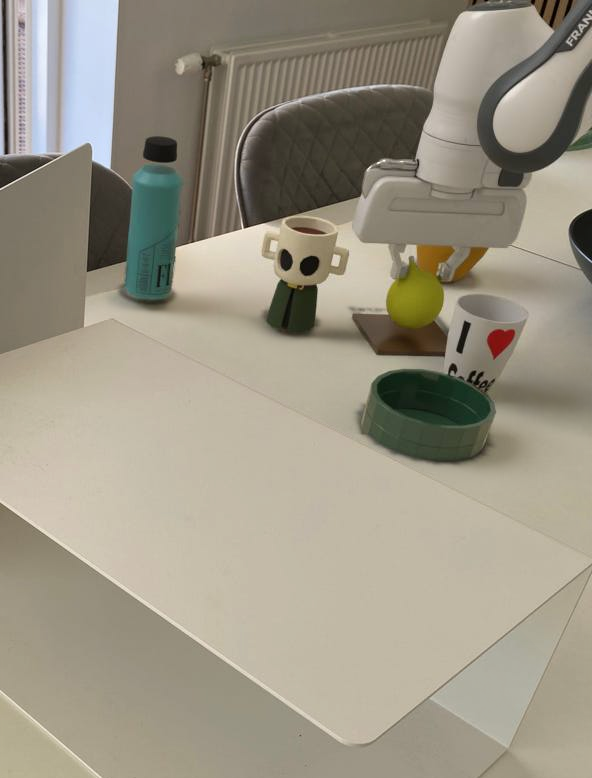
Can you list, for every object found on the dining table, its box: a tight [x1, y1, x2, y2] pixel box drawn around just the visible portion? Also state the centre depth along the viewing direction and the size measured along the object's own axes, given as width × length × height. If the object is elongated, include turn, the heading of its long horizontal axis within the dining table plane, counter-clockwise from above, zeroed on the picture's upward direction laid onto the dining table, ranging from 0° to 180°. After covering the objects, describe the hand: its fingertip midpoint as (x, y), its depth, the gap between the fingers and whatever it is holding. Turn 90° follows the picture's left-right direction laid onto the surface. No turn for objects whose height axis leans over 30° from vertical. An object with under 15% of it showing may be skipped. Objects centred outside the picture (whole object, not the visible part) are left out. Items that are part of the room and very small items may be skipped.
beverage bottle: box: [123, 135, 184, 301], centre depth 126 cm, size 6×7×20 cm
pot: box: [360, 368, 497, 462], centre depth 108 cm, size 13×13×5 cm
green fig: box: [385, 246, 445, 329], centre depth 126 cm, size 7×7×10 cm
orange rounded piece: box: [416, 245, 490, 284], centre depth 143 cm, size 11×11×13 cm
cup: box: [443, 293, 530, 394], centre depth 117 cm, size 8×8×10 cm
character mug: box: [261, 215, 350, 334], centre depth 125 cm, size 11×7×13 cm, turn 65°
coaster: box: [351, 313, 448, 357], centre depth 130 cm, size 11×11×1 cm
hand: (420, 278), depth 125 cm, fingers closed on green fig, 5 cm apart
